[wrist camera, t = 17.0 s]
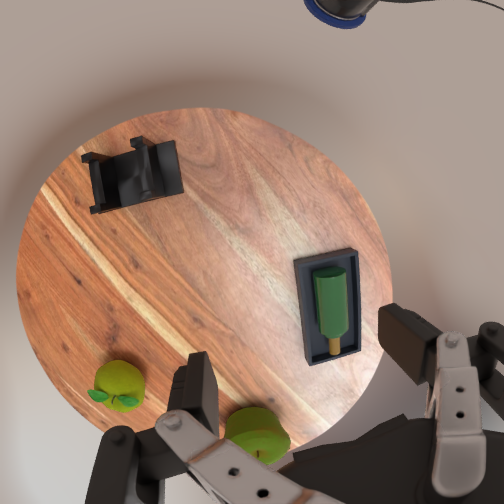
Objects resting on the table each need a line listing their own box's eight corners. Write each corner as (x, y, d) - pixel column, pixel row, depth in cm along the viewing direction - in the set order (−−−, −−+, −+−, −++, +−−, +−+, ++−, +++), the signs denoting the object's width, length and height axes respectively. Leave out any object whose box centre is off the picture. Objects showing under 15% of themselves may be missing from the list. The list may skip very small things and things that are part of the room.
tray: (293, 260, 45) (297, 264, 42) (351, 247, 45) (358, 251, 43) (305, 358, 49) (309, 366, 47) (355, 344, 50) (361, 351, 47)
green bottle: (310, 269, 45) (315, 280, 40) (341, 264, 44) (349, 274, 39) (318, 346, 49) (322, 363, 44) (346, 341, 48) (352, 357, 43)
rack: (174, 141, 39) (163, 128, 30) (184, 192, 40) (174, 193, 32) (91, 164, 38) (64, 161, 29) (100, 213, 40) (74, 220, 31)
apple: (215, 431, 51) (216, 471, 40) (231, 393, 49) (234, 435, 38) (269, 438, 53) (277, 476, 42) (290, 402, 51) (304, 442, 40)
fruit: (102, 345, 44) (83, 376, 35) (150, 357, 46) (138, 392, 36) (105, 382, 46) (89, 414, 36) (148, 393, 47) (139, 428, 38)
